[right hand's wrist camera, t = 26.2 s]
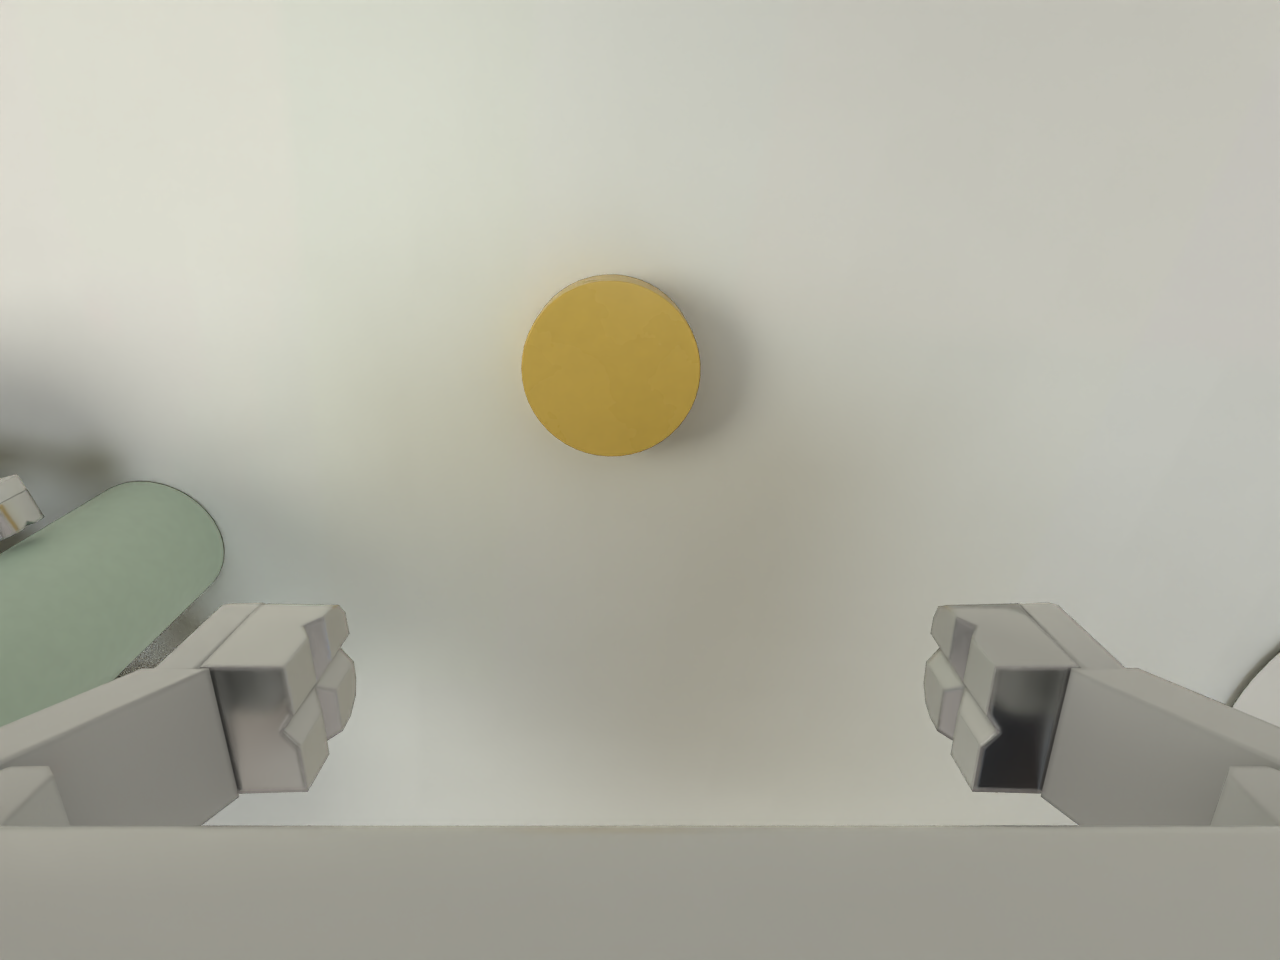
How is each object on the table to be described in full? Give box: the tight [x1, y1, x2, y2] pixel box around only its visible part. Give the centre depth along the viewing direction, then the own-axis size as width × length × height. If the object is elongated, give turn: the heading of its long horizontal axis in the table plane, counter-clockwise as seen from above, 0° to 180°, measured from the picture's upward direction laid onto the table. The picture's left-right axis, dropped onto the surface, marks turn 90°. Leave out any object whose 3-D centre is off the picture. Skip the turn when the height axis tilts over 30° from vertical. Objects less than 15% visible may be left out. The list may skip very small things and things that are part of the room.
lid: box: [521, 275, 700, 456], centre depth 25 cm, size 6×6×2 cm
